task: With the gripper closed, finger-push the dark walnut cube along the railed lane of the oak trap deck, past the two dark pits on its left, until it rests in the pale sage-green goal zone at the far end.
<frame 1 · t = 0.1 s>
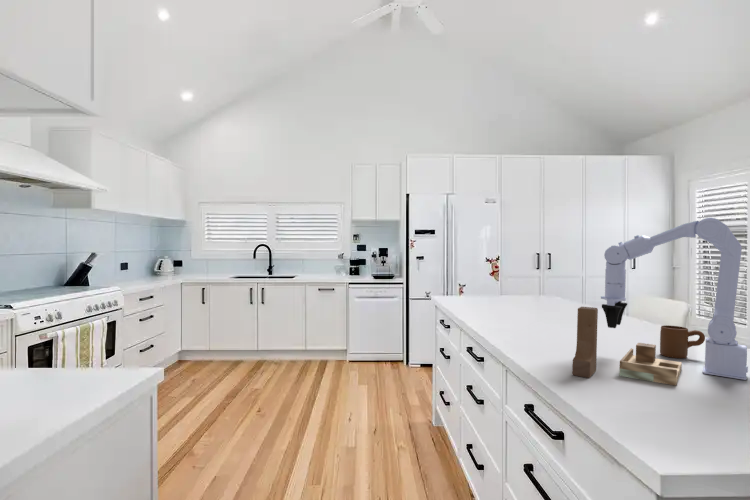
hand: (614, 326, 143), 10 cm above the countertop, fingers open, 7 cm apart
mug: (681, 357, 146), on the countertop
trap deck: (651, 372, 127), on the countertop
wooden block: (584, 374, 125), on the countertop
walnut block: (645, 360, 132), point 2 cm above the countertop, touching trap deck
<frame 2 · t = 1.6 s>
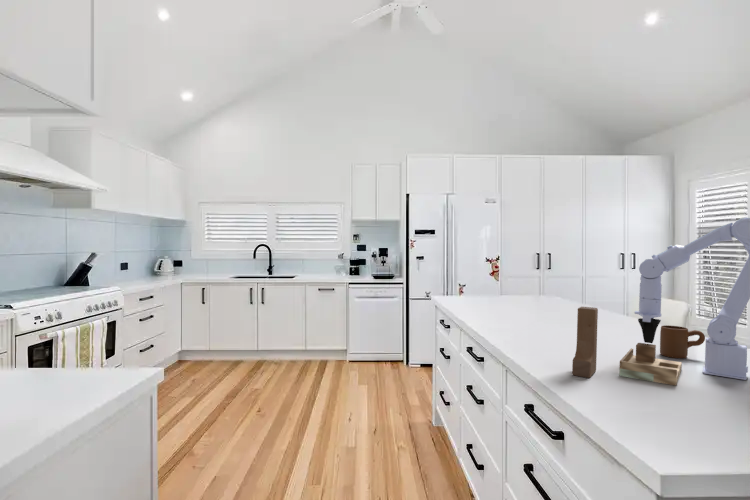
hand: (648, 342, 138), 6 cm above the countertop, fingers closed
nothing on the countertop moved.
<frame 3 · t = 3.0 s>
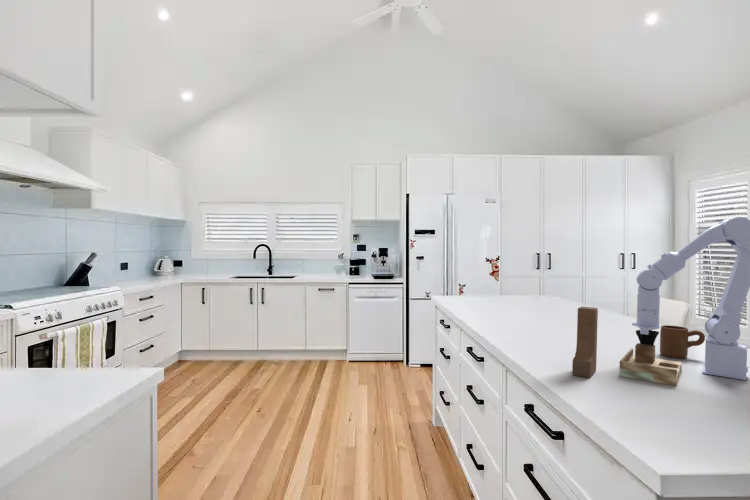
hand: (646, 355, 135), 3 cm above the countertop, fingers closed
walnut block: (644, 360, 132), point 2 cm above the countertop, touching gripper
everything else where it was.
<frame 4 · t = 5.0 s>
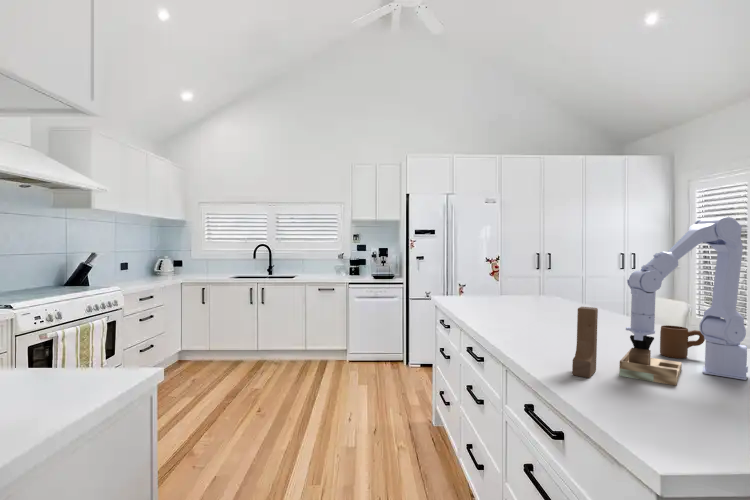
hand: (641, 362, 126), 3 cm above the countertop, fingers closed, pressing on walnut block
walnut block: (639, 367, 124), point 2 cm above the countertop, tilted 8°, touching gripper, trap deck
everything else where it was.
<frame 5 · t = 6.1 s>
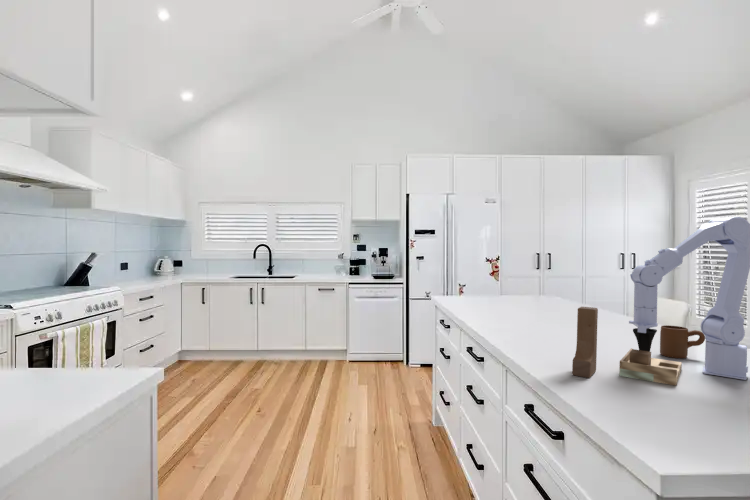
hand: (644, 354, 129), 5 cm above the countertop, fingers closed
walnut block: (639, 368, 124), point 2 cm above the countertop, touching trap deck
everything else where it was.
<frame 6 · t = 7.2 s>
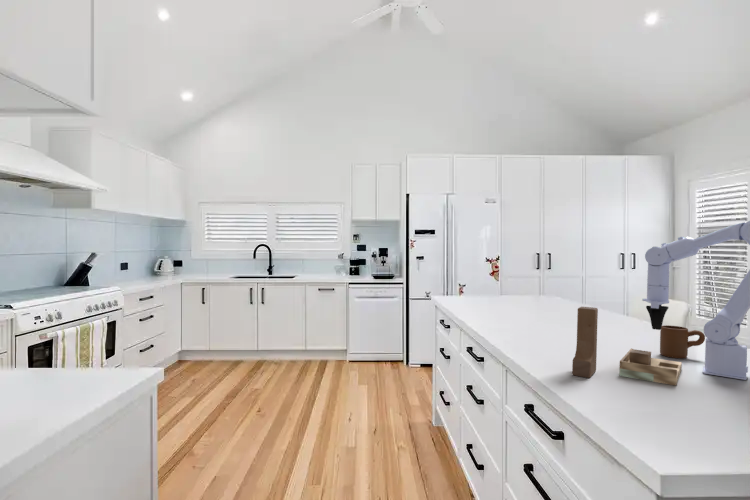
hand: (656, 329, 140), 10 cm above the countertop, fingers closed
nothing on the countertop moved.
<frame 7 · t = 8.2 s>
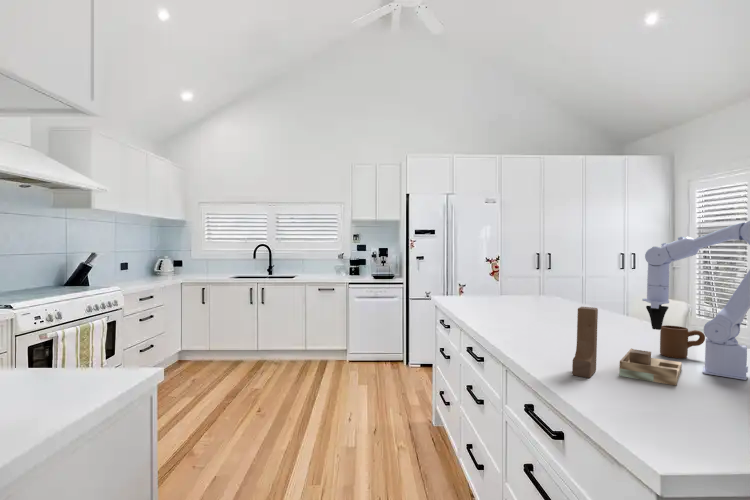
hand: (656, 329, 140), 10 cm above the countertop, fingers closed
nothing on the countertop moved.
at the end: walnut block inside the target area (1.1 cm from its centre), point 2.0 cm above the countertop; walnut block tilted 0° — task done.
